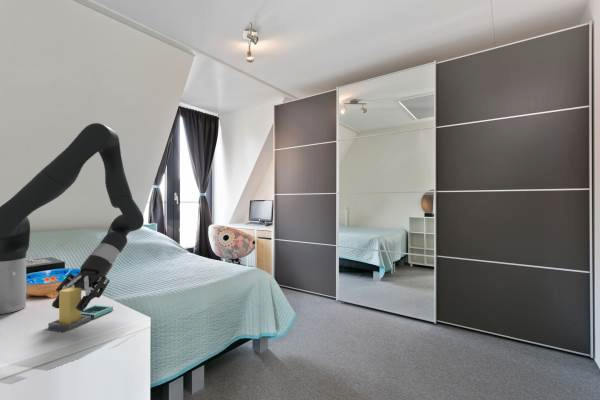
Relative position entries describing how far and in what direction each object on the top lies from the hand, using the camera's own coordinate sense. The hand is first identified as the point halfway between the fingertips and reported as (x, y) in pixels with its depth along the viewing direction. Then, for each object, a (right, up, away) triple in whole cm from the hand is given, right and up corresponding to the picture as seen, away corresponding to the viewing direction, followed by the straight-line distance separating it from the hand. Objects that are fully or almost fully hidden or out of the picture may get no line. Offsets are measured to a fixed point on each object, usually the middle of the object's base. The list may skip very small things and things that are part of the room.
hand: (66, 308), depth 86 cm
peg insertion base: (+1, -6, +5) cm, 8 cm away
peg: (0, -5, +1) cm, 5 cm away
